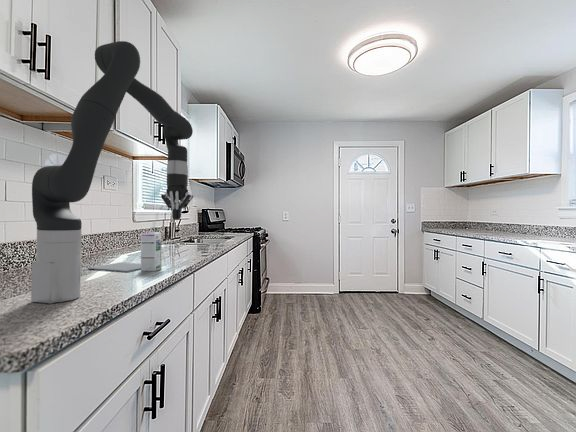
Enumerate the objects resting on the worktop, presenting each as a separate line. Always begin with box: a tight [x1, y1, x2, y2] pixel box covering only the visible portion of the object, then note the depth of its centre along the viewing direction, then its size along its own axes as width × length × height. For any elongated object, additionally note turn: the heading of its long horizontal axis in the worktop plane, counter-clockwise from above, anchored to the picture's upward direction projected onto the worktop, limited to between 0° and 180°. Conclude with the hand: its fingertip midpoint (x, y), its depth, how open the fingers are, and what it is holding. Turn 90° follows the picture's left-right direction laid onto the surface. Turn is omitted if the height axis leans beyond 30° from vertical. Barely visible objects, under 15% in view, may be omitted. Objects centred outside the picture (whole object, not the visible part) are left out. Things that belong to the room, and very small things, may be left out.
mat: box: [87, 262, 141, 273], centre depth 132 cm, size 16×18×1 cm
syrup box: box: [140, 231, 162, 272], centre depth 129 cm, size 6×6×14 cm
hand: (176, 219), depth 126 cm, fingers closed
